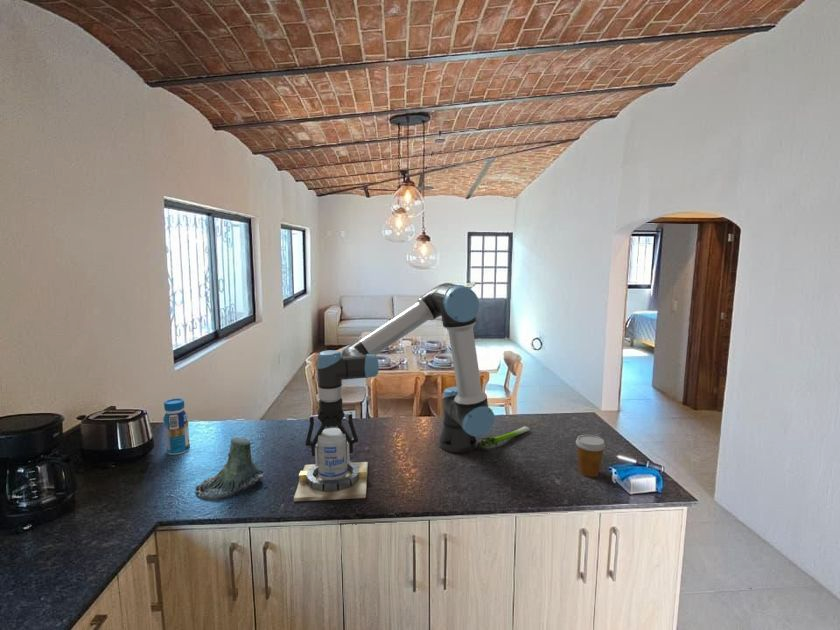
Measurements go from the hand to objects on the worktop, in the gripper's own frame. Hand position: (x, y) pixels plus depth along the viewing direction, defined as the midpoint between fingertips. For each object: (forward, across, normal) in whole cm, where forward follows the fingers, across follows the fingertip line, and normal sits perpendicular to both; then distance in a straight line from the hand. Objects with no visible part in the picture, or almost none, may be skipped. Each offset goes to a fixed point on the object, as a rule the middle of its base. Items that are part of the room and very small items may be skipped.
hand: (332, 463), depth 157 cm
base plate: (+7, 0, 0) cm, 7 cm away
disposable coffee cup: (+7, -87, +8) cm, 87 cm away
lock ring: (+5, 0, 0) cm, 5 cm away
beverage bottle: (+7, +60, -34) cm, 69 cm away
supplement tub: (+4, 0, 0) cm, 4 cm away
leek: (+7, -67, -22) cm, 71 cm away
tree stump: (+7, +34, -4) cm, 34 cm away
